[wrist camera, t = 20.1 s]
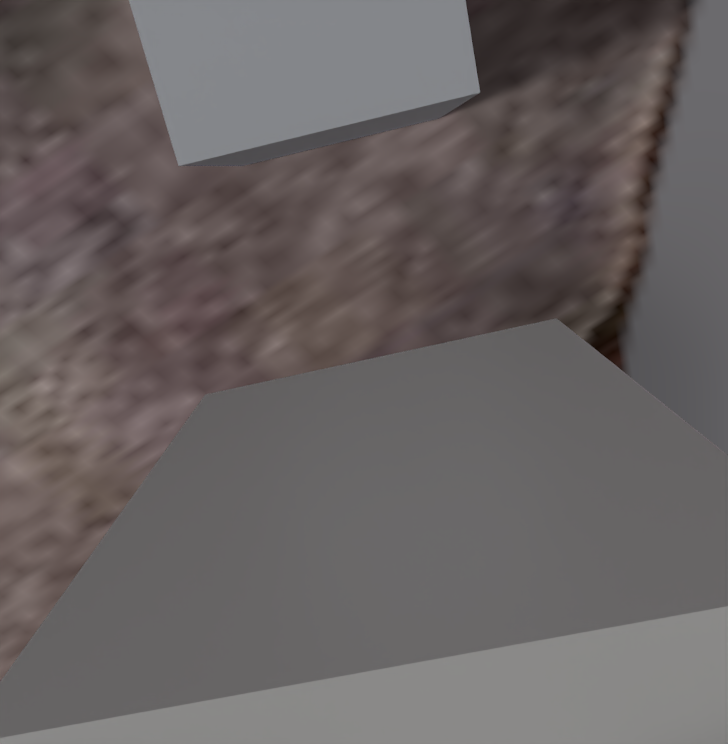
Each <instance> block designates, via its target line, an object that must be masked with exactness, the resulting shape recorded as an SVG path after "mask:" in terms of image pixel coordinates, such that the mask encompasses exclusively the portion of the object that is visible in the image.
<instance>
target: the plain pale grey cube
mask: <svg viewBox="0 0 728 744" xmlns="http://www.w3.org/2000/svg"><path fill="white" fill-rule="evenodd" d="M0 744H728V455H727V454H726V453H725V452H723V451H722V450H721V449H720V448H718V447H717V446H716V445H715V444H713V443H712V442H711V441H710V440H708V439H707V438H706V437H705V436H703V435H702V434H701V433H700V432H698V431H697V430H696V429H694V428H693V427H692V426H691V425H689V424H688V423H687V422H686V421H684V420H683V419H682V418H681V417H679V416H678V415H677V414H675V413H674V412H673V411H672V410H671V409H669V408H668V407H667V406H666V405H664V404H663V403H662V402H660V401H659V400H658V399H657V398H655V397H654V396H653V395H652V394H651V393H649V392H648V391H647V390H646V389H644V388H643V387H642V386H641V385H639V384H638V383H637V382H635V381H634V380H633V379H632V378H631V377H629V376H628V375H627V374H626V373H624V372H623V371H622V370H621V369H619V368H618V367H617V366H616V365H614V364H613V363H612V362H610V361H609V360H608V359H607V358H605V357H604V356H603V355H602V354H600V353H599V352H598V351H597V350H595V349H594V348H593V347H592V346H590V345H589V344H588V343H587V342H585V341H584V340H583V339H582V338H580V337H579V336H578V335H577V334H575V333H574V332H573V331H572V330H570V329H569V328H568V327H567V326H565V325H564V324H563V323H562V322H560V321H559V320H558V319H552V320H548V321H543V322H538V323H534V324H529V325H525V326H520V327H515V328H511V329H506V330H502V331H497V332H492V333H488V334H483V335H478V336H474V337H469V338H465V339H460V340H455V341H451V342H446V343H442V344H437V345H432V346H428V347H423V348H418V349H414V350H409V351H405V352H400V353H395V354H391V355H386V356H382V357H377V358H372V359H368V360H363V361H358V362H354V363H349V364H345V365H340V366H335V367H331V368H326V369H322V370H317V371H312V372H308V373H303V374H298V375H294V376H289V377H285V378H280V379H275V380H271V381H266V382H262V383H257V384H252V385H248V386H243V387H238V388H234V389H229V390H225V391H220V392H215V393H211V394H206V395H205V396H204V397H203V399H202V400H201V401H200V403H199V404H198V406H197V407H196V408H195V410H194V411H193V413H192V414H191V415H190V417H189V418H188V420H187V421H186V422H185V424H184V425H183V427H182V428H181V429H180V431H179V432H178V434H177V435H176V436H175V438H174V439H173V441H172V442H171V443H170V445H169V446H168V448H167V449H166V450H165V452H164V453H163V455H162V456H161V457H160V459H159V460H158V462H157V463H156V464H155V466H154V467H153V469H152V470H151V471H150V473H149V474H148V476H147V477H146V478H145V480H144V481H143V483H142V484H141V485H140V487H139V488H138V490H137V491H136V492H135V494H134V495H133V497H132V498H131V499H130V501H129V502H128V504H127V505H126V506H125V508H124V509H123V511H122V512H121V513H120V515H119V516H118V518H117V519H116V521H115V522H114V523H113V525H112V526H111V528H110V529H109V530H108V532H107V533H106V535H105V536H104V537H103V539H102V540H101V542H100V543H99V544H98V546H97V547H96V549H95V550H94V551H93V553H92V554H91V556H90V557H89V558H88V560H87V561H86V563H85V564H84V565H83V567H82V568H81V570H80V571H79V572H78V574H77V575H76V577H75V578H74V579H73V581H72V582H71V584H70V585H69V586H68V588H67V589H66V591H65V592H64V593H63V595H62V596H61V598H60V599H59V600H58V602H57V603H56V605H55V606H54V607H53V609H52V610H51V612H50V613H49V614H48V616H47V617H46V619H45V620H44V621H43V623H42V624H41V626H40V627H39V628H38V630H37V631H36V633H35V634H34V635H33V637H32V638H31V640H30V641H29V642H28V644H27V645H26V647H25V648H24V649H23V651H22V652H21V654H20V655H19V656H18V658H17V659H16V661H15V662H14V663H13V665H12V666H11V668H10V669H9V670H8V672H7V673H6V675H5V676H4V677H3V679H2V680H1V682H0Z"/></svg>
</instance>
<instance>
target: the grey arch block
mask: <svg viewBox="0 0 728 744" xmlns="http://www.w3.org/2000/svg"><path fill="white" fill-rule="evenodd" d="M129 2H130V6H131V9H132V12H133V16H134V19H135V22H136V26H137V29H138V32H139V36H140V39H141V42H142V46H143V49H144V52H145V56H146V59H147V62H148V66H149V69H150V72H151V76H152V79H153V82H154V86H155V89H156V92H157V96H158V99H159V102H160V106H161V109H162V112H163V116H164V119H165V122H166V126H167V129H168V132H169V136H170V139H171V142H172V146H173V149H174V152H175V156H176V159H177V162H178V166H245V165H249V164H253V163H258V162H262V161H266V160H270V159H274V158H278V157H282V156H286V155H291V154H295V153H299V152H303V151H307V150H311V149H315V148H319V147H324V146H328V145H332V144H336V143H340V142H344V141H348V140H353V139H357V138H361V137H365V136H369V135H373V134H377V133H381V132H386V131H390V130H394V129H398V128H402V127H406V126H410V125H415V124H419V123H423V122H427V121H431V120H435V119H439V118H441V117H442V116H444V115H446V114H447V113H449V112H450V111H452V110H453V109H455V108H457V107H458V106H460V105H461V104H463V103H465V102H466V101H468V100H469V99H471V98H472V97H474V96H476V95H477V94H479V93H480V88H479V82H478V76H477V69H476V63H475V57H474V51H473V44H472V38H471V32H470V25H469V19H468V13H467V7H466V0H129Z"/></svg>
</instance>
